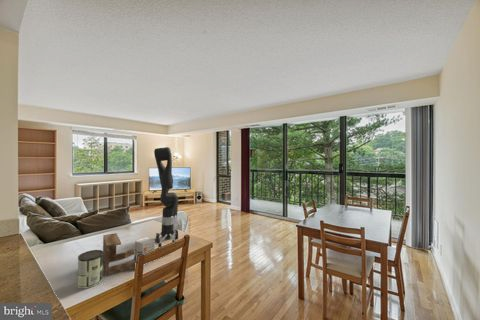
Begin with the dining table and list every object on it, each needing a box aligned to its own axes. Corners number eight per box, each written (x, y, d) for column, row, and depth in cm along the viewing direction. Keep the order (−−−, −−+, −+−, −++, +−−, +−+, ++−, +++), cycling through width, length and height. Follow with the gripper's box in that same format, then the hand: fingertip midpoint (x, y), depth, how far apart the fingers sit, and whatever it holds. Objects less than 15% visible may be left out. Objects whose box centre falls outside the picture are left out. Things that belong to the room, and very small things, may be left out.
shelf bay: (133, 253, 137) (134, 228, 137) (142, 268, 119) (143, 240, 119) (101, 260, 127) (102, 233, 127) (106, 278, 108) (107, 247, 108)
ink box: (142, 263, 124) (142, 244, 124) (133, 259, 129) (134, 240, 129) (154, 258, 132) (155, 239, 132) (146, 254, 136) (147, 236, 136)
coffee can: (90, 275, 110) (90, 248, 110) (107, 277, 109) (108, 250, 109) (71, 287, 100) (72, 257, 100) (90, 290, 99) (91, 260, 99)
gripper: (176, 220, 146) (175, 243, 146) (155, 223, 138) (154, 247, 138) (180, 222, 140) (179, 247, 140) (158, 226, 132) (157, 252, 132)
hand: (166, 247), depth 139 cm, fingers open, 8 cm apart
